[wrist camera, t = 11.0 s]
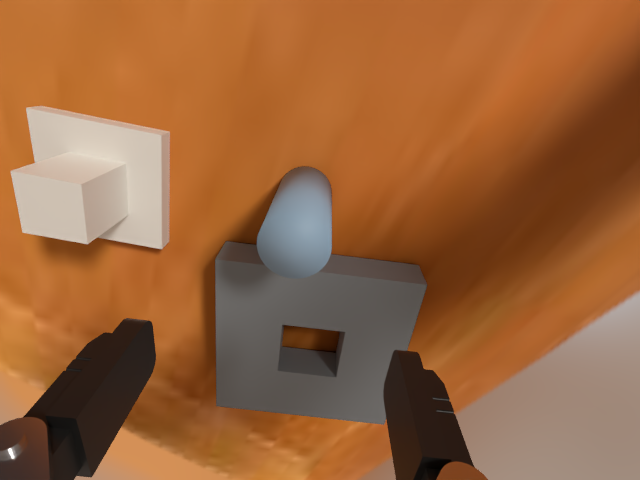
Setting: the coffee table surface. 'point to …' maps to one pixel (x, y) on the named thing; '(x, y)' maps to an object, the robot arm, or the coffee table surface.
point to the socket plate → (312, 312)
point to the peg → (298, 225)
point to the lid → (94, 180)
